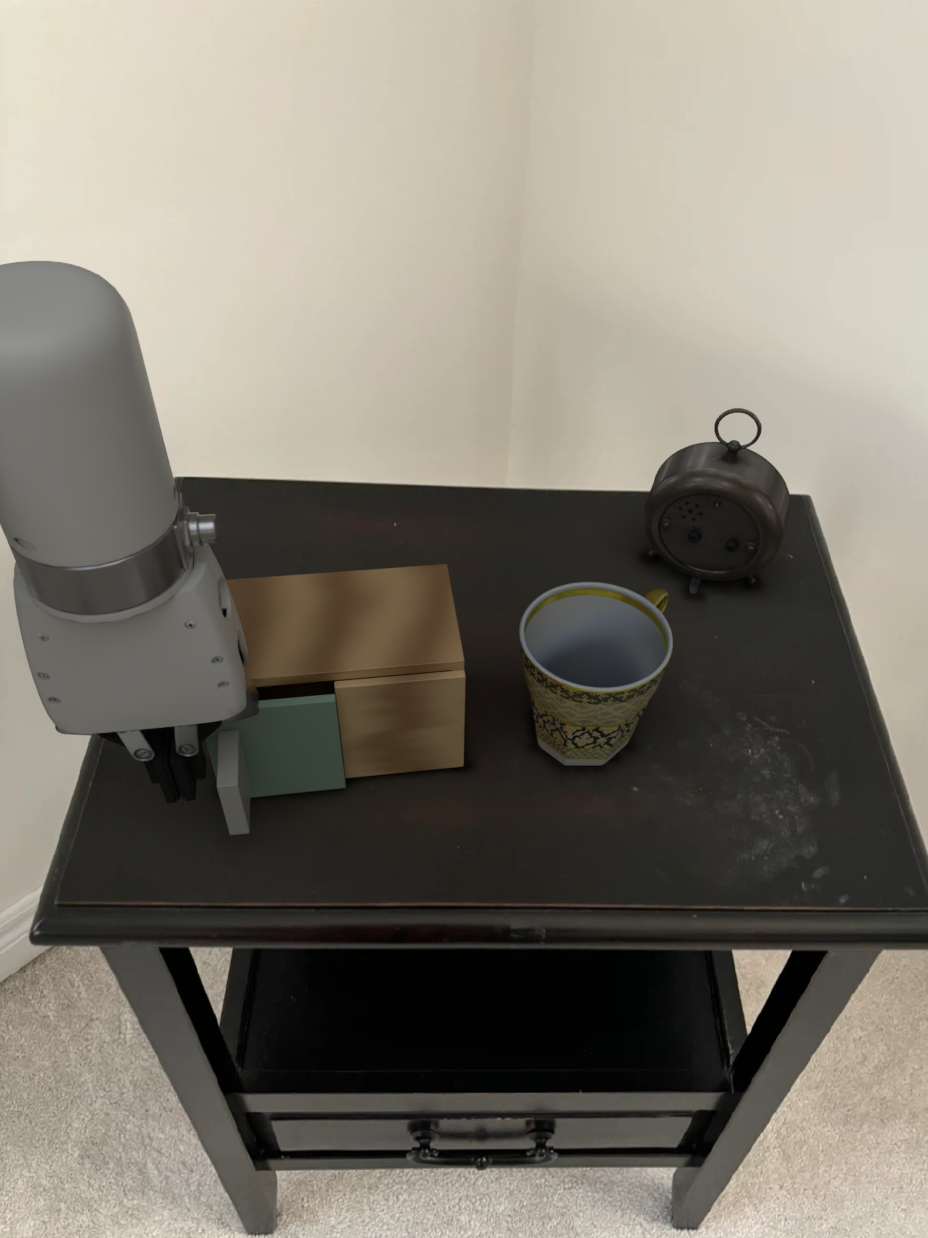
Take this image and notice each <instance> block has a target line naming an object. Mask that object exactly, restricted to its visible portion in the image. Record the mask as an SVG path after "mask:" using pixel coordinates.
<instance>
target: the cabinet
mask: <svg viewBox="0 0 928 1238" xmlns="http://www.w3.org/2000/svg"><path fill="white" fill-rule="evenodd" d="M226 582H227V584H228V587H229V589H230V592H231V595H232V598H233V600H234V603H235V607H236V610H237V613H238V616H239V619H240V622H241V625H242V629H243V632H244V636H245V640H246V645H247V652H248V665H247V666H243V668H244V670H245V672H246V673H247V675H248V676H249V678H250V680H251V681H252V683H253V684H254V686H255V688H256V689H257V691H258V693H259V701H261V700H272V699H283V698H295V697H306V696H317V695H329V694H335V699H336V707H337V716H338V724H339V732H340V741H341V749H342V757H343V766H344V774H345V779H353V778H354V779H355V778H363V777H372V776H382V775H383V776H384V775H392V774H393V775H394V774H402V773H403V774H404V773H412V772H422V771H433V770H442V769H443V770H444V769H452V768H453V769H454V768H463V767H464V765H465V727H466V726H465V721H466V680H467V677H466V670H465V656H464V649H463V645H462V639H461V633H460V628H459V623H458V618H457V617H458V616H457V611H456V606H455V600H454V594H453V589H452V584H451V578H450V573H449V567H448V564H447V563H444V564H429V565H416V566H415V565H414V566H402V567H401V566H399V567H389V568H388V567H387V568H373V569H358V570H345V571H332V572H331V571H329V572H319V573H318V572H317V573H303V574H289V575H288V574H287V575H276V576H275V575H273V576H261V577H260V576H259V577H248V578H247V577H246V578H233V579H226Z"/></svg>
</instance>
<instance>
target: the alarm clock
mask: <svg viewBox="0 0 928 1238" xmlns="http://www.w3.org/2000/svg"><path fill="white" fill-rule="evenodd" d="M732 414H744V415H747V416H748V417H750V418H751V419H752V420H753V421H754V423H755V426H756V434H755V436H754V437H753V439H752V440H751V441H750V442H748V443H747V444H741V443H740V441H738V440H736V439H732V440H730V441H728V442H727V441H726V440H725V439H723V438H722V437H721V435H720V433H719V432H720V431H719V425H720V423H721V421H722V420H723V419H724V418H726V416H728V415H732ZM713 426H714V428H713V431H714V435H715V437H716V439H717V440H718V441H704V442H697V443H694V444H690V445H687V446H685V447H683V448H680V449H679V450H676V451H675V452H674V453H672V454H671V455H669V457H667V458H666V459H665V460H664V461H663V462H662V464H661V465H660V466H659V468H658V470H657V472H656V474H655V476H654V479H653V483H652V485H651V487H650V490H649V493H648V495H647V498H646V500H645V503H644V506H643V512H642V513H643V515H642V521H643V527H644V531H645V534H646V537H647V539H648V541H649V544H650V545H651V546H652V548H653V549H650V550H649V551H648V556H649V557H650V558H655V557H656V556H657V555H659V557H660V558H662V560H664V562H666V563H668V564H669V565H670V566H671V567H673V568H675V569H676V570H677V571H680V572H682V573H683V574H686V575H688V576H691V579H690V583H689V586H688V589H689V590H688V591H689V593H690V594H691V595H696V594H697V592H698V590H699V587H700V584H701V581H702V580H707V581H713V582H714V581H717V582H721V581H722V582H725V581H726V582H727V581H734V580H739V579H743V578H747V584H748V585H751V586H752V585H754V584H756V578H755V577H753V574H755V573H757V572H759V571H761V570H762V569H763V568H765V567H766V566H767V565H768V564H769V563H770V562H771V561H772V560H773V559H774V558H775V557H776V555H777V553H778V551H779V550H780V547H781V545H782V542H783V538H784V536H785V535H784V534H785V532H786V531H785V530H786V528H787V523H788V520H789V516H790V511H791V496H790V491H789V488H788V485H787V482H786V480H785V479H784V477H783V476H782V474H781V472H780V471H779V470H778V469H777V468H776V466H774V465H773V464H772V463H771V462H770V461H769V460H768V459H766V458H765V457H764V456H762V455H761V454H759V453H758V452H756V451H754V450H752V449H750V448H749V447H751V446H752V445H754V444H755V443H757V442H758V440H759V438H760V436H761V434H762V430H763V427H762V423H761V420H760V419H759V417H758V416H757V415H756V414H755V413H754V412H753V411H751V410H749V409H746V408H743V407H733V408H730V409H726V410H725V411H723V412H721V414H720V415H718V416H717V417H716V420H715V422H714V425H713Z"/></svg>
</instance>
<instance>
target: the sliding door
mask: <svg viewBox="0 0 928 1238" xmlns="http://www.w3.org/2000/svg"><path fill="white" fill-rule="evenodd" d="M204 741H205V743H206V748H207V751H208V754H209V758H210V761H211V765H212V769H213V772H214V776H215V780H216V790H217V794H218V797H219V801H220V804H221V808H222V811H223V815H224V819H225V822H226V825H227V829H228V833H229V836H236V835H245V834H250V833H251V798H261V797H271V796H280V795H291V794H300V793H309V792H320V791H329V790H339V789H346V787H347V786H346V785H347V784H346V783H347V782H346V778H345V774H344V766H343V757H342V749H341V741H340V732H339V724H338V716H337V707H336V699H335V694H329V695H317V696H306V697H295V698H283V699H272V700H261V701H259V712H258V714H257V715H255V716H252V717H248V718H244V719H240V720H236V721H233V722H229V723H228V722H227V721H225V722H222V725H221V726H220V727H219V728H218V729H217V730H215V731H214V732H213V733H212V734H211V735H210V736H209V737H207V738H206V739H205V740H204Z"/></svg>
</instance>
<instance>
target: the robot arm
mask: <svg viewBox="0 0 928 1238" xmlns="http://www.w3.org/2000/svg"><path fill="white" fill-rule="evenodd" d="M165 444H166V443H165V440H164V436H163V432H162V428H161V424H160V420H159V416H158V412H157V407H156V403H155V400H154V396H153V392H152V387H151V383H150V379H149V376H148V371H147V367H146V363H145V360H144V355H143V352H142V348H141V343H140V339H139V336H138V332H137V329H136V325H135V321H134V319H133V315H132V312H131V310H130V307H129V306H128V304H127V302H126V301H125V299H124V298H123V296H122V295H121V293H120V292H119V291H118V289H117V288H116V287H115V286H114V285H113V284H112V283H110V282H109V280H107V279H105V278H104V277H103V276H102V275H100V274H99V273H96V272H94V271H92V270H90V269H88V268H85V267H82V266H79V265H75V264H73V263H68V262H63V261H56V260H55V261H53V260H25V261H24V260H23V261H15V262H9V263H3V264H0V528H1V529H2V532H3V535H4V536H5V538H6V541H7V544H8V546H9V548H10V549H9V550H10V551H11V553H12V555H13V558H14V561H15V563H14V568H13V578H12V579H13V580H12V586H13V595H14V596H13V597H14V604H15V611H16V617H17V622H18V627H19V632H20V636H21V640H22V645H23V648H24V653H25V657H26V660H27V664H28V667H29V671H30V673H31V676H32V680H33V684H34V686H35V689H36V691H37V695H38V697H39V699H40V701H41V704H42V706H43V709H44V711H45V712H46V714H47V716H48V718H49V719H50V721H51V722H52V724H53V725H54V727H55V728H54V729H55V731H56V732H57V733H59V734H60V735H61V734H62V735H69V736H70V735H71V736H90V737H92V736H93V737H94V736H96V735H98V736H99V737H100V738H102V739H104V740H106V741H109V742H111V743H114V744H116V745H119V746H121V747H123V748H125V749H127V752H129V754H130V755H131V757H132V758H133V759H134V760H136V761H139V762H143V764H144V767H145V769H146V771H147V774H148V778H149V779H150V782H151V785H156V784H159V785H160V788H161V790H162V793H163V796H164V799H165V801H166V803H167V804H173V803H174V804H175V803H177V802H178V801H179V800H181V799H182V800H184V801H185V802H191V801H192V802H193V801H196V800H197V784H198V783H197V782H198V780H204V779H206V778H207V759H206V754H205V751H204V747H203V744H202V743H203V742H204V741H206V740H205V739H206V738H207V737H209V736H210V735H211V734H212V733H213V732H214V731H215V730H217V729H218V728H219V727H220V726H221V725H222V722H225V721H227V722H228V723H229V722H233V721H236V720H240V719H244V718H248V717H252V716H255V715H257V714H258V712H259V693H258V691H257V689H256V688H255V686H254V684H253V683H252V681H251V680H250V678H249V676H248V675H247V673H246V672H245V670H244V668H243V666H247V665H248V652H247V645H246V640H245V636H244V632H243V629H242V625H241V622H240V619H239V616H238V613H237V610H236V607H235V603H234V600H233V598H232V595H231V592H230V589H229V587H228V584H227V582H226V580H227V579H226V577H225V574H224V572H223V570H222V567H221V565H220V563H219V560H218V559H217V557H216V555H215V553H214V552H213V550H212V548H211V546H210V544H218V543H219V542H220V531H219V529H220V528H219V523H218V518H217V514H214V513H212V514H200V512H191V509H190V508H189V506H185V504H184V503H185V502H184V499H183V496H182V492H181V491H178V490H177V486H176V482H175V478H174V475H173V470H172V466H171V463H170V459H169V455H168V451H167V448H166V445H165Z"/></svg>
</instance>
